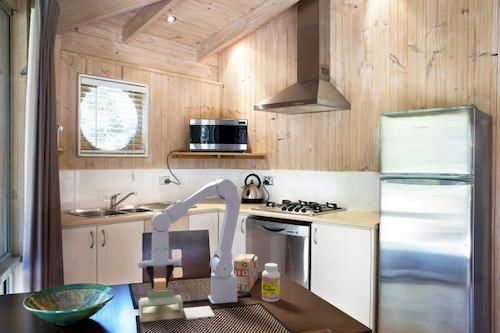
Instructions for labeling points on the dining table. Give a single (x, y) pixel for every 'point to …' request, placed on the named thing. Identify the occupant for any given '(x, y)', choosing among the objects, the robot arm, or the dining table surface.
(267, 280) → the supplement bottle
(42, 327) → the dining table surface
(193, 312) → the tile
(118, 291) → the dining table surface
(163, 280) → the block
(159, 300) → the sliding cover
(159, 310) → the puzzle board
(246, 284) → the printed cardboard box
